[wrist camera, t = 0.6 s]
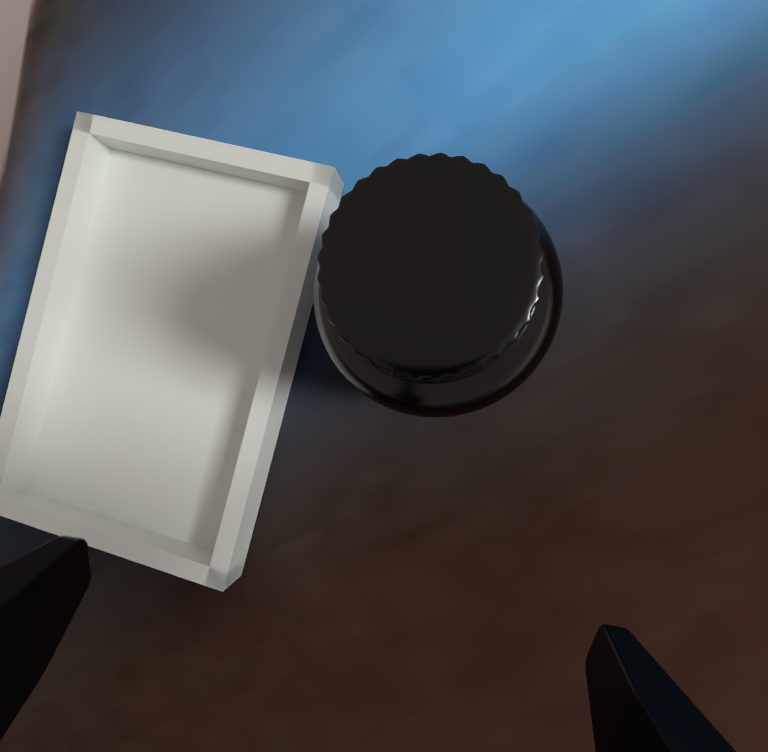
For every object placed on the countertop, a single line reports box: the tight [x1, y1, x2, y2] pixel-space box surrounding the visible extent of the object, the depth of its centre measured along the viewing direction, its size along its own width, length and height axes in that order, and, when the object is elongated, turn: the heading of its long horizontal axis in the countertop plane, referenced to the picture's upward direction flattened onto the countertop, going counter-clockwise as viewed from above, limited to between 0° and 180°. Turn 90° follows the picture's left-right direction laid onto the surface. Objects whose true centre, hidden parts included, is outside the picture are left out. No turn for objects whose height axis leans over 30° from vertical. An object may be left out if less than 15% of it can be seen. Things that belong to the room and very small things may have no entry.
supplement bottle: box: [314, 153, 563, 417], centre depth 17 cm, size 7×7×12 cm
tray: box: [0, 111, 344, 592], centre depth 24 cm, size 18×12×2 cm, turn 165°
